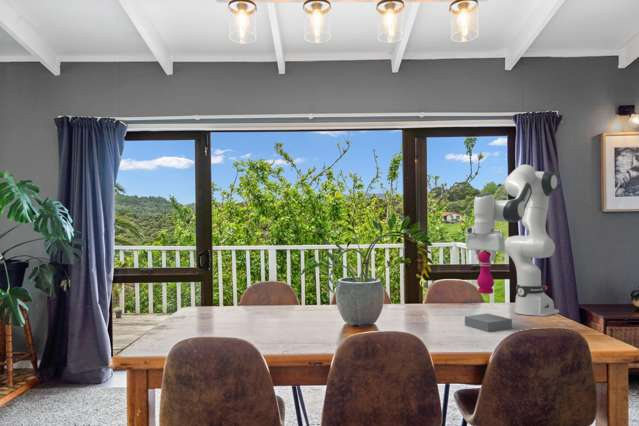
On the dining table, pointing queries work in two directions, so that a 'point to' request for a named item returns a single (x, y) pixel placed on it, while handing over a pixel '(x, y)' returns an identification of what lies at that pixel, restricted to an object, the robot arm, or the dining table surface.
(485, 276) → the pepper mill
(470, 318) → the riser
